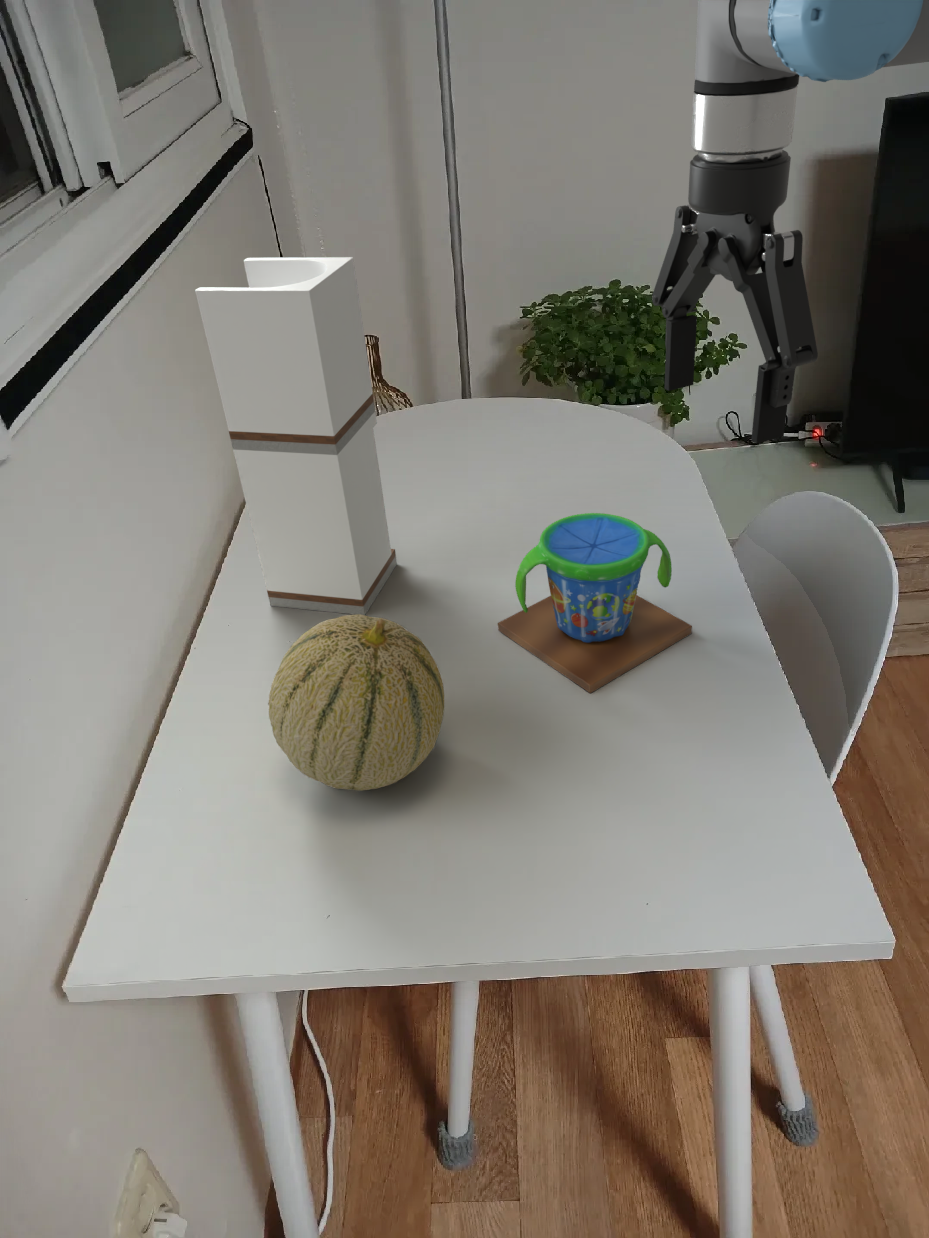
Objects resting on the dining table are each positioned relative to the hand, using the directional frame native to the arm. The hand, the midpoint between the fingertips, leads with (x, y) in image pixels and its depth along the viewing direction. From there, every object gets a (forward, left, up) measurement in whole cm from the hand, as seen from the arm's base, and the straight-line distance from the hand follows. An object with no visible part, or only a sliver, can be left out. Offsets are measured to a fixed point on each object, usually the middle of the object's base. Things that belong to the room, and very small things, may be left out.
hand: (720, 411), depth 85 cm
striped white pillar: (+33, +25, -23) cm, 47 cm away
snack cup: (+6, +10, -22) cm, 25 cm away
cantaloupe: (+5, +38, -23) cm, 45 cm away
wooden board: (+6, +10, -23) cm, 26 cm away
